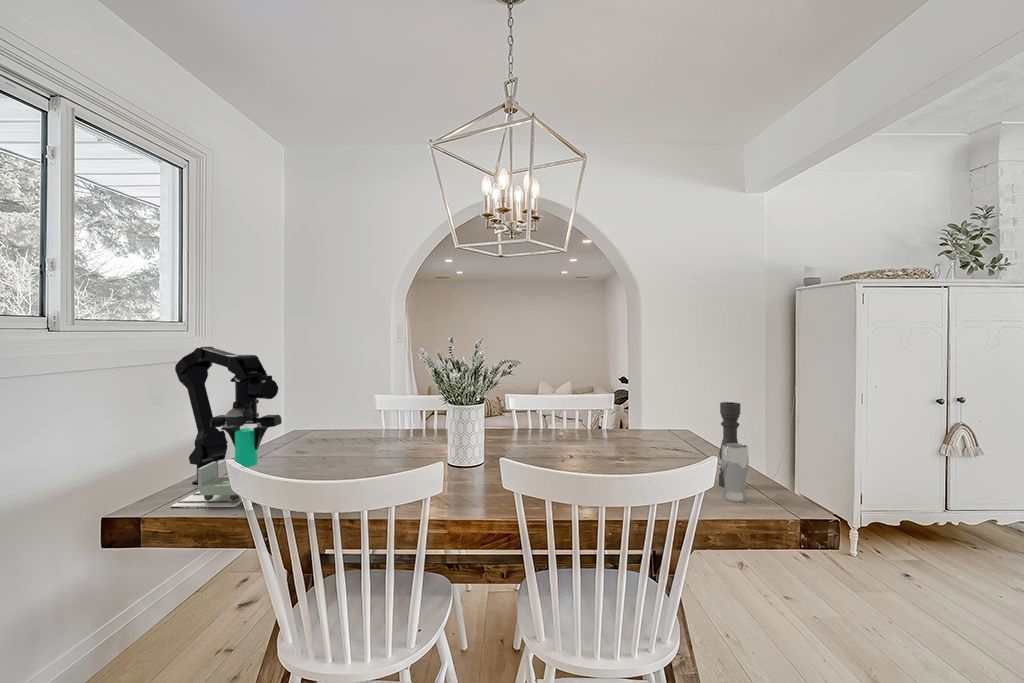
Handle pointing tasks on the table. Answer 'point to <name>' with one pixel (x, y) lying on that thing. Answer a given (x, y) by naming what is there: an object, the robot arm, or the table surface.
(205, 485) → the cart
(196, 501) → the track
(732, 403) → the candle holder
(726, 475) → the beer glass
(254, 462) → the candle
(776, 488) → the table surface
